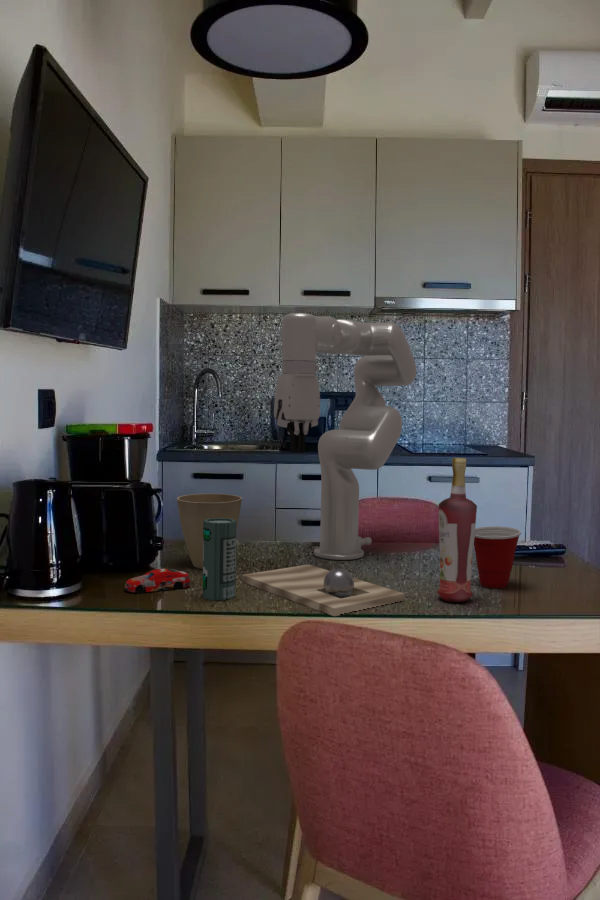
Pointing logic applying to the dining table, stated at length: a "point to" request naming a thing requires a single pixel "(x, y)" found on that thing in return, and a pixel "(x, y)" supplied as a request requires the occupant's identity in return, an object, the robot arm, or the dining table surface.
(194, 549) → the plant pot
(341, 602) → the wooden recessed tray
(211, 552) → the can
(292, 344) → the robot arm
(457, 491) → the liquor
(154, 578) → the race car
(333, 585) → the steel ball
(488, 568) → the plastic cup
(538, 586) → the dining table surface
